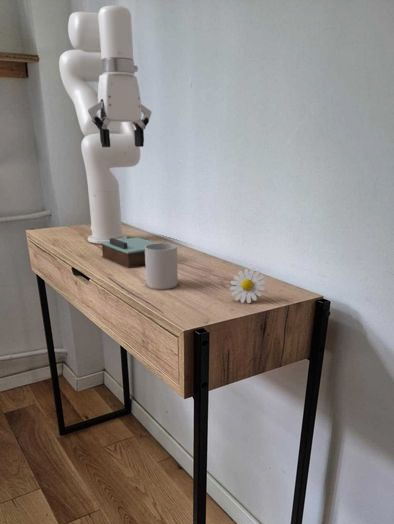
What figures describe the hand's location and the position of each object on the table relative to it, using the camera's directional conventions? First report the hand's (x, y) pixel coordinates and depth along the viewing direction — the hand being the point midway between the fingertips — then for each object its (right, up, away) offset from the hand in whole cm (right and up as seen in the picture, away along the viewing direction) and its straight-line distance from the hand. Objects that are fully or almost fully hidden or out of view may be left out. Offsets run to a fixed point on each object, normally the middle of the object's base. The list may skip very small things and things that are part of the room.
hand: (123, 146), depth 122 cm
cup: (+10, -36, -10) cm, 39 cm away
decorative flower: (+28, -40, -17) cm, 51 cm away
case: (+1, -26, +11) cm, 29 cm away
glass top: (+1, -23, +10) cm, 25 cm away
